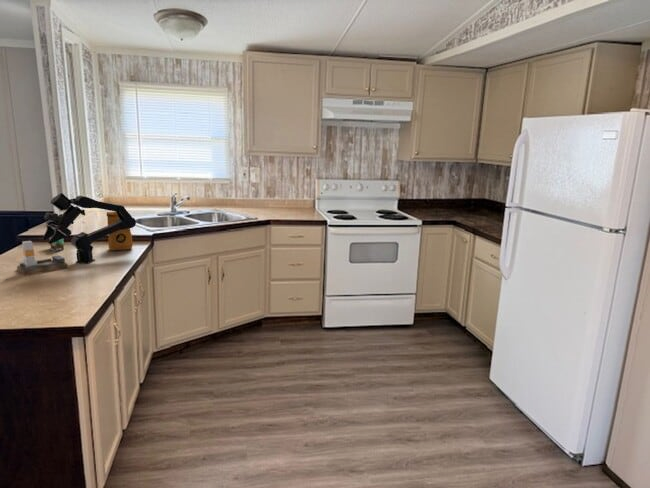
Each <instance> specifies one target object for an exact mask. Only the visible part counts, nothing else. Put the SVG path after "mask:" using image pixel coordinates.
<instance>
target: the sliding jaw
mask: <svg viewBox="0 0 650 488" xmlns="http://www.w3.org/2000/svg"><path fill="white" fill-rule="evenodd" d="M22 252H23V253H22V254H23V257H24V259H22V263H23V266H24V267H31V266H37V261H38V260H36V259H35V250H34V246H33V241H31V240H24V241H22Z"/></svg>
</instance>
